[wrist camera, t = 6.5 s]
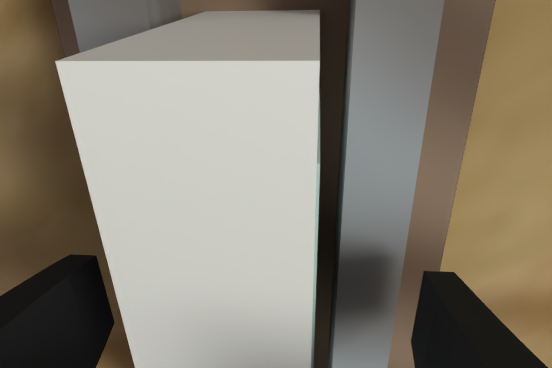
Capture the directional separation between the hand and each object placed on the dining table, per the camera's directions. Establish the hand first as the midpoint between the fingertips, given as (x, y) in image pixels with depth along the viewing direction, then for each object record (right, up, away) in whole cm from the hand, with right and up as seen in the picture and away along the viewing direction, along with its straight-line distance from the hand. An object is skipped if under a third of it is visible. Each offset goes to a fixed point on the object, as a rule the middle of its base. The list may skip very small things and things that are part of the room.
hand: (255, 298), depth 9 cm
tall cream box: (0, +1, +3) cm, 3 cm away
